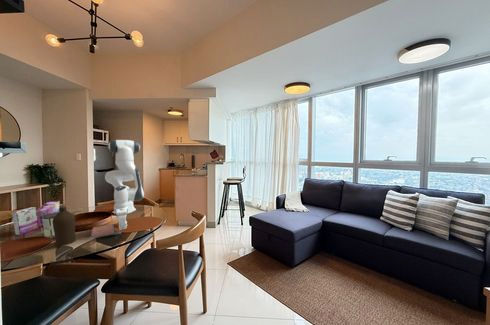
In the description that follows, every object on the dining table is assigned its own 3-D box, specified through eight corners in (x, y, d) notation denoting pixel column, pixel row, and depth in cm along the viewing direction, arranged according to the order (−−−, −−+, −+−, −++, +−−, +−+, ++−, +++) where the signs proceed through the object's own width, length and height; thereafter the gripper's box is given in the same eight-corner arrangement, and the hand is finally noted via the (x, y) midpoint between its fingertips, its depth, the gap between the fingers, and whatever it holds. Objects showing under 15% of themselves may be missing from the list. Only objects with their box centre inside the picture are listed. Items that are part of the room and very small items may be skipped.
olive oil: (68, 246, 126) (65, 207, 124) (50, 247, 125) (45, 208, 123) (80, 238, 137) (77, 202, 134) (63, 239, 136) (60, 202, 133)
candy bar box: (33, 228, 152) (31, 206, 151) (39, 228, 151) (36, 207, 150) (14, 235, 142) (11, 212, 140) (19, 235, 141) (17, 212, 139)
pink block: (93, 232, 144) (93, 227, 144) (114, 229, 150) (113, 223, 150) (92, 236, 138) (91, 231, 138) (113, 232, 144) (113, 227, 144)
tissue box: (55, 230, 149) (53, 211, 147) (68, 231, 148) (66, 212, 146) (39, 237, 139) (37, 217, 137) (53, 237, 138) (51, 217, 136)
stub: (119, 228, 151) (119, 222, 150) (127, 227, 153) (126, 220, 153) (119, 231, 147) (118, 224, 146) (127, 229, 149) (126, 223, 148)
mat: (91, 232, 146) (91, 231, 146) (137, 224, 160) (136, 223, 160) (89, 239, 135) (89, 238, 135) (137, 230, 149) (137, 229, 149)
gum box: (51, 225, 157) (49, 208, 155) (37, 227, 153) (35, 210, 152) (61, 215, 178) (59, 200, 176) (49, 217, 174) (47, 201, 173)
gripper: (117, 205, 156) (118, 222, 157) (116, 213, 138) (117, 233, 140) (127, 204, 159) (128, 221, 160) (126, 212, 141) (128, 231, 143)
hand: (123, 227), depth 150 cm, fingers closed on stub, 5 cm apart
